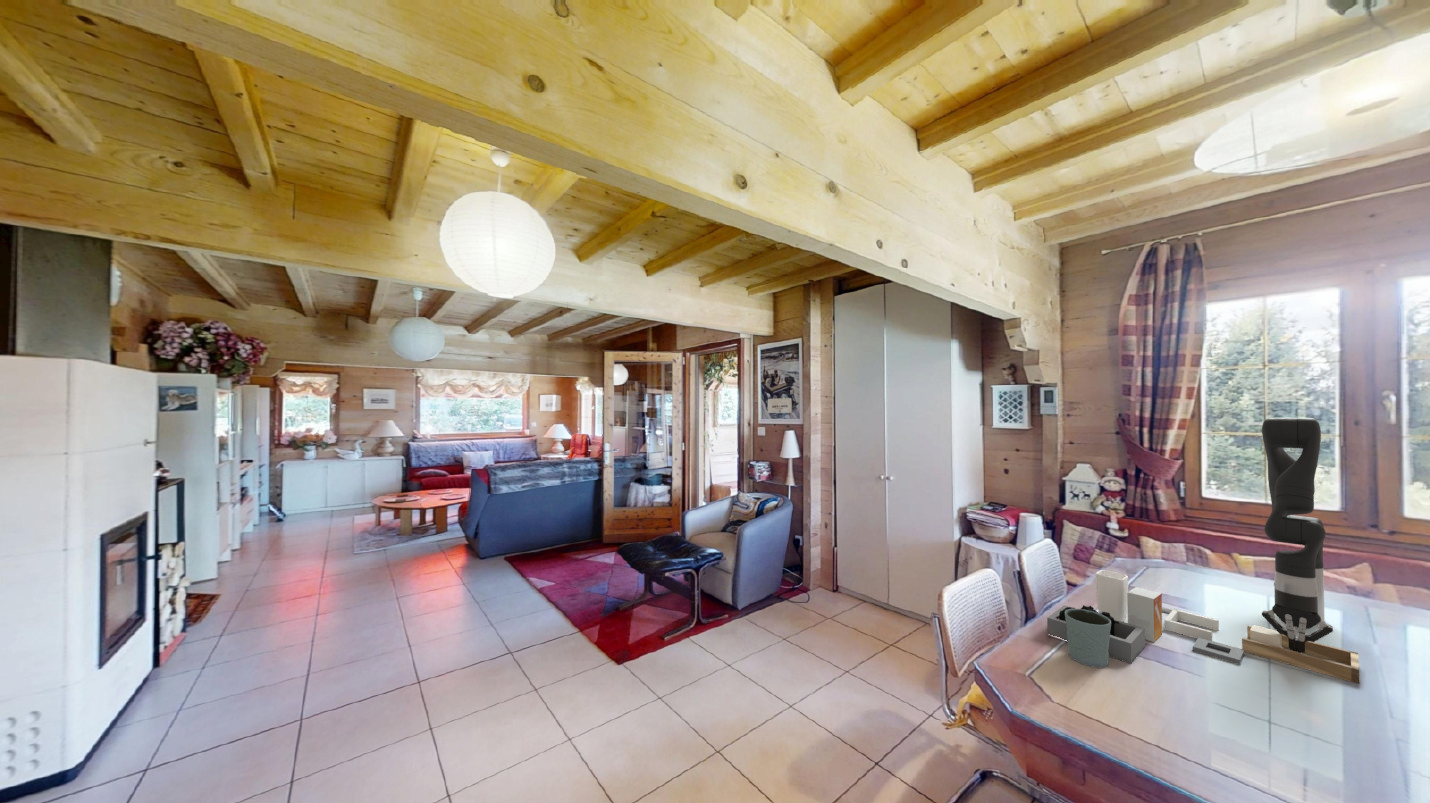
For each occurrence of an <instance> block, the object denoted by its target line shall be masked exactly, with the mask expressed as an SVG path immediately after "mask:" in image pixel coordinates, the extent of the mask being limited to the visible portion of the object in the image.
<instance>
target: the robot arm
mask: <svg viewBox="0 0 1430 803" xmlns="http://www.w3.org/2000/svg"><path fill="white" fill-rule="evenodd" d="M1261 435H1262V440H1263V445H1264V449H1265V455H1266V459H1267V482H1268V488H1269V494H1270V501H1271V512H1270V515H1269V516H1268V518H1267V519H1266V522H1265V523H1264V533H1265V535H1266V536H1267V537H1268V538H1269V540H1272V541H1274V542H1278V543H1279V542H1280V543H1286V544H1292V545H1293V544H1294V545H1300V546H1304V547H1303V548H1301V549H1298V550H1278V551H1276V552H1275V554H1274V559H1275V560H1274V562H1275V563H1274V567H1275V568H1274V570H1275V573H1274V578H1273V587H1274V590H1273V591H1274V605H1273V606H1272V608H1271V609H1268V610H1263V611H1262V612H1261V616H1262V617H1263V618H1264V619H1265V620H1266V621H1267V623H1269V624H1270V626H1272V627H1273V629H1274V630H1276V631H1277V632H1278V633H1280V634H1283V635H1285V636H1287V637H1288V639H1289V649H1288V650H1291V651H1295V652H1299V653H1303V654H1305V653H1304V652H1305V642H1306V641H1311V642H1316V641H1319V640H1320V639H1322V638H1323V637H1326V636H1327V635H1329V634H1331V633H1333V632H1334V627H1333V626H1332V625H1331V624H1327V623H1326V622H1325V576H1324V572H1325V571H1324V570H1325V569H1324V554H1323V553H1324V541H1325V538H1326V535H1327V534H1326V529H1325V527H1324V523H1323V521H1322V520H1321V519H1319V518H1318V517H1317V518H1316V517H1312V516H1304V515H1308V514H1311V513H1312V512H1313V511H1314V508H1315V501H1314V500H1315V491H1316V490H1315V489H1316V488H1315V476H1316V473H1317V468H1318V467H1317V466H1318V462H1319V456H1320V450H1321V442H1322V441H1321V440H1322V431H1321V426H1320V423H1319V421H1318V420H1317V419H1315V418H1312V417H1271V418H1270V417H1269V418H1266V419H1265V420H1264V421H1263V422H1262V425H1261ZM1285 449H1301V450H1302V451H1301V453H1300V456H1299V457H1298V458H1297V459H1295V458H1293V457H1292V456H1290V455H1289V454H1288V453H1287V451H1286V450H1285ZM1276 617H1277V618H1278V619H1279V620H1280V621H1281V622H1282V623H1283V624H1284V625H1286V629H1285V628H1284V626H1282V624H1280V622H1278V621H1277V620H1276ZM1316 625H1318V626H1317V628H1318V629H1317V630H1315V631H1313V632H1311V633H1310V634H1307V633H1306V631H1307V630H1310V629H1311V628H1313V627H1315V626H1316ZM1295 628H1298V632H1297V635H1296V633H1295V632H1296V630H1295ZM1296 636H1297V637H1296Z"/></svg>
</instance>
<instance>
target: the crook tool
mask: <svg viewBox="0 0 1430 803" xmlns="http://www.w3.org/2000/svg"><path fill="white" fill-rule="evenodd" d="M1173 609H1174V608H1168V607H1163V606H1162V613H1167V614H1170V612H1171V611H1172V610H1173Z"/></svg>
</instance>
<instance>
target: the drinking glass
mask: <svg viewBox="0 0 1430 803" xmlns="http://www.w3.org/2000/svg"><path fill="white" fill-rule="evenodd" d="M1065 619H1066V624H1067V626H1066V627H1067V629H1068V630H1067V640H1068V642H1067V649H1068V655H1069V657H1070V658H1071V659H1072V660H1074V661H1075V662H1078V663H1079V664H1081V665H1085V666H1087V665H1088V666H1087V667H1091V666H1093V667H1092V668H1099V667H1102V668H1105V666H1106V667H1108V665H1109V657H1110V656H1109V653H1108V648H1109V639H1110V629H1111V620H1110V619H1109V618H1107V617H1106V616H1104V615H1102V614H1099V612H1098V613H1096V612H1093V611H1089V610H1084V609H1081V608H1076V609H1068V610H1066V611H1065Z"/></svg>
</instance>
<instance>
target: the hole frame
mask: <svg viewBox="0 0 1430 803" xmlns="http://www.w3.org/2000/svg"><path fill="white" fill-rule="evenodd" d="M1192 651H1193V652H1196V653H1198V654H1199V653H1200V654H1203V655H1206V656H1209V657H1212V658H1216V659H1219V660H1224V661H1226V662H1230V663H1233V664H1235V665H1241V662H1242V660H1243V658H1244V656H1245V652H1244V650H1243V649H1242V648H1239V647H1236V646H1232V645H1228V644H1224V643H1221V642H1219V641H1214V640H1212V641H1211V640H1207V639H1204V638H1200V637H1198V639H1197V638H1196V641H1195V643H1193V645H1192Z"/></svg>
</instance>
